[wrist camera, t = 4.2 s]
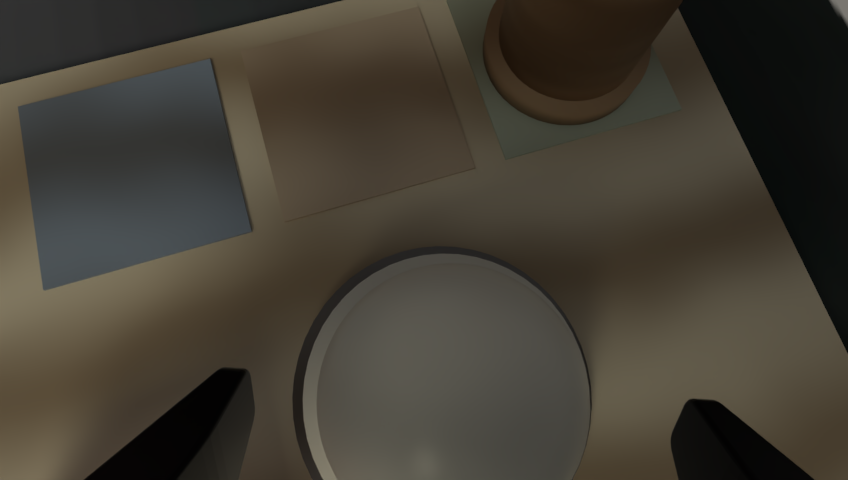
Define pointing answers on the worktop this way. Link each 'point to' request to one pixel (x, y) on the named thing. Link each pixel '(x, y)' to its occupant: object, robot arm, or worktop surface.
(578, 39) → the pawn
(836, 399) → the game board
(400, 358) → the dome
